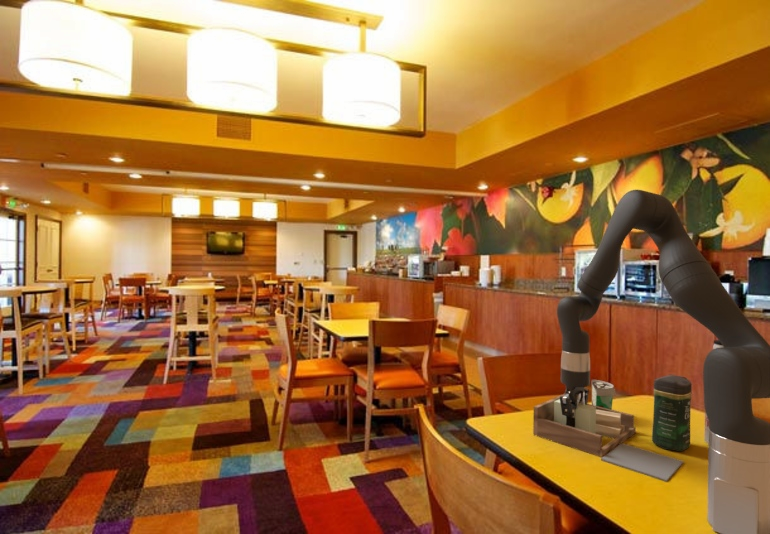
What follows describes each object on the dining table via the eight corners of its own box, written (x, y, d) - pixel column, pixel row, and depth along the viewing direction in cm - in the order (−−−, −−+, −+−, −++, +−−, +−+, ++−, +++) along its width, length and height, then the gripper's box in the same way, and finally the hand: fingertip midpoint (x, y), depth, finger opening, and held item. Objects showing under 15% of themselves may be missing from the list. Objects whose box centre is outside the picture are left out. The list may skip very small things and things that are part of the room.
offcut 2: (619, 441, 119) (619, 430, 119) (588, 433, 124) (589, 422, 124) (624, 436, 123) (624, 425, 123) (594, 428, 128) (594, 418, 128)
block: (589, 443, 116) (589, 410, 116) (553, 432, 123) (554, 401, 123) (595, 439, 119) (595, 407, 119) (560, 429, 126) (560, 398, 126)
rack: (602, 457, 108) (602, 425, 108) (533, 434, 122) (533, 406, 122) (635, 432, 124) (636, 405, 124) (571, 415, 138) (571, 390, 138)
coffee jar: (682, 455, 110) (683, 382, 110) (648, 444, 116) (649, 376, 116) (694, 445, 116) (696, 376, 116) (661, 436, 122) (662, 370, 122)
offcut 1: (619, 428, 120) (620, 417, 120) (592, 423, 124) (592, 412, 124) (620, 424, 124) (620, 413, 124) (593, 419, 127) (594, 409, 127)
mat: (666, 481, 96) (666, 479, 96) (600, 460, 106) (600, 458, 106) (683, 462, 105) (683, 461, 105) (621, 444, 116) (621, 443, 116)
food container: (618, 423, 131) (619, 391, 131) (596, 421, 133) (596, 388, 133) (611, 410, 143) (612, 380, 143) (591, 408, 145) (591, 379, 145)
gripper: (577, 374, 113) (576, 439, 114) (599, 366, 123) (598, 425, 123) (550, 368, 119) (549, 430, 119) (573, 361, 129) (572, 418, 129)
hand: (574, 427), depth 121 cm, fingers closed on block, 4 cm apart
